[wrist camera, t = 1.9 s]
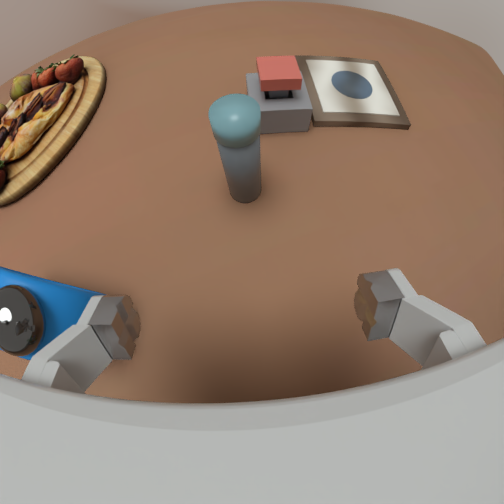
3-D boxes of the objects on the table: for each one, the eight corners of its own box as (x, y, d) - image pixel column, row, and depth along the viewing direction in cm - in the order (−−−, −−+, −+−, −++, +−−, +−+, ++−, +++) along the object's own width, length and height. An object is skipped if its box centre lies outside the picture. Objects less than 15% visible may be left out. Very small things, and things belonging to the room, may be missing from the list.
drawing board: (376, 65, 33) (378, 59, 31) (408, 129, 30) (411, 123, 28) (294, 60, 33) (294, 54, 32) (313, 126, 30) (315, 119, 29)
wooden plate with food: (40, 229, 29) (-1, 207, 21) (-36, 193, 32) (-60, 178, 24) (142, 57, 36) (128, 22, 28) (38, 71, 39) (23, 49, 31)
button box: (298, 93, 31) (301, 71, 27) (308, 131, 30) (312, 109, 26) (247, 96, 31) (245, 73, 28) (252, 134, 30) (250, 112, 26)
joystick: (260, 172, 29) (257, 91, 17) (263, 202, 28) (263, 127, 16) (227, 176, 29) (208, 97, 17) (229, 205, 28) (208, 133, 16)
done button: (292, 79, 27) (294, 55, 24) (299, 103, 27) (302, 78, 23) (257, 81, 28) (256, 57, 24) (261, 104, 27) (260, 80, 23)
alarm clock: (135, 300, 26) (28, 278, 12) (127, 359, 25) (21, 382, 10) (47, 279, 27) (-49, 250, 13) (40, 328, 26) (-57, 321, 11)
